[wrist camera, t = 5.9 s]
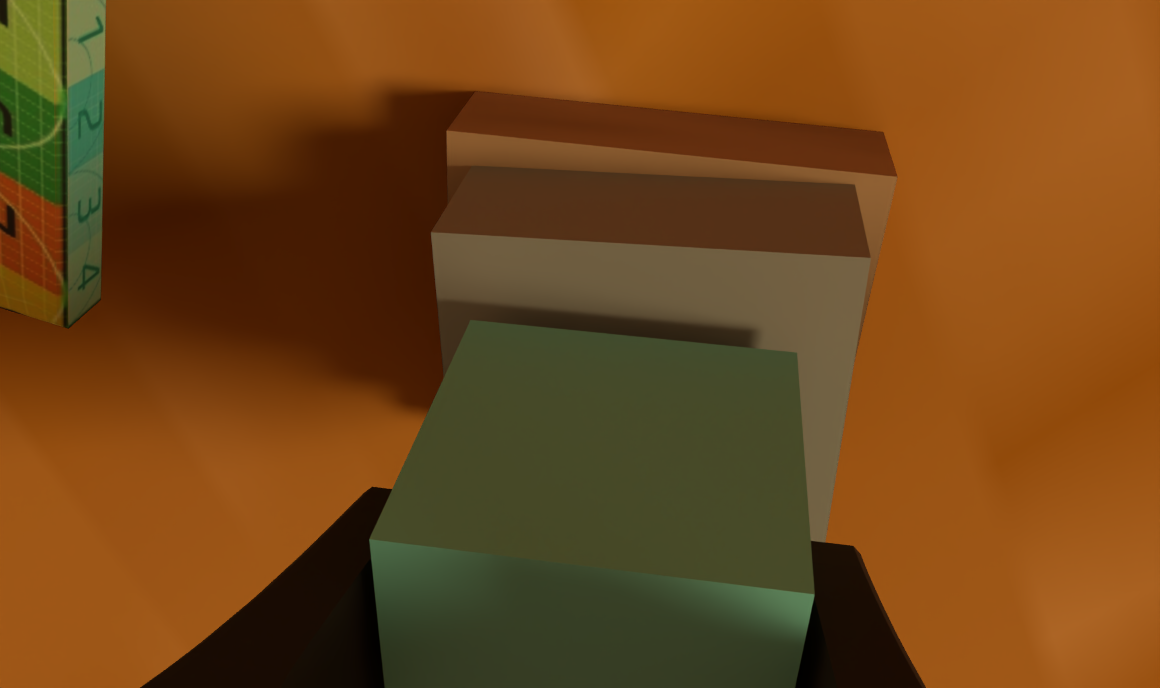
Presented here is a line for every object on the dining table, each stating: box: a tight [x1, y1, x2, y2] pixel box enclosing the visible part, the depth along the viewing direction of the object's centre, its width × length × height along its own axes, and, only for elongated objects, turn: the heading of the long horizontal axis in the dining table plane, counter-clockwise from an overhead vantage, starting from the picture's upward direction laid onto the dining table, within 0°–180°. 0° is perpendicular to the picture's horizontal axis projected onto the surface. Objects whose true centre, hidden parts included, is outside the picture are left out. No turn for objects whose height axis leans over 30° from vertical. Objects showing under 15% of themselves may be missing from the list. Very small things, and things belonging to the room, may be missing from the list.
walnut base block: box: [446, 91, 897, 361], centre depth 19 cm, size 7×7×2 cm
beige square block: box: [431, 166, 871, 542], centre depth 17 cm, size 6×6×2 cm
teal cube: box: [369, 320, 815, 688], centre depth 13 cm, size 4×4×4 cm
